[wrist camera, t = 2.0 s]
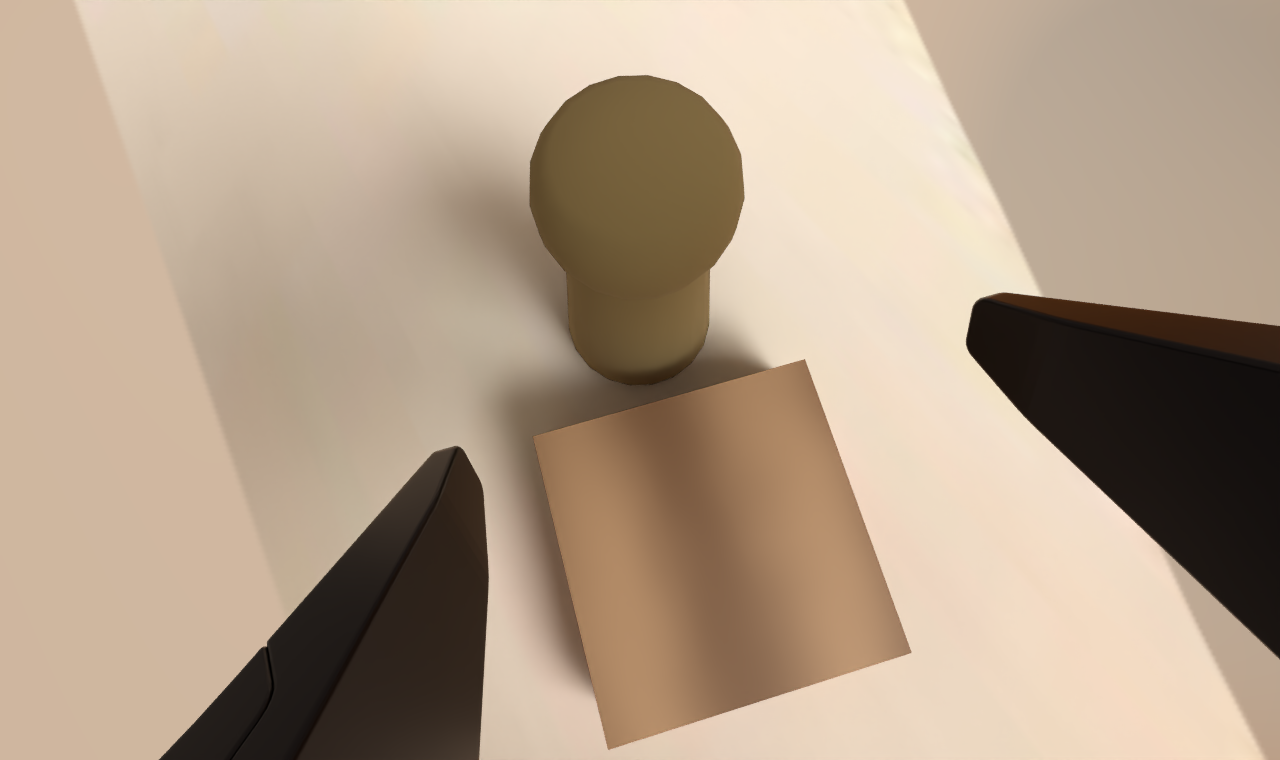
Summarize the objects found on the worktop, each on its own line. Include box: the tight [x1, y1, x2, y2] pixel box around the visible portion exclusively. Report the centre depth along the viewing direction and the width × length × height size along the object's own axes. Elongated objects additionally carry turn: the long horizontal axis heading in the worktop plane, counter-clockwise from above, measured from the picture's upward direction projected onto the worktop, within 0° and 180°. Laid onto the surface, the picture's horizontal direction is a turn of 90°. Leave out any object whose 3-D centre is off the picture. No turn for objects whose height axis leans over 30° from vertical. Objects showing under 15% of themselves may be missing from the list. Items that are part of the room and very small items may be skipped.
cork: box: [530, 75, 744, 385], centre depth 16 cm, size 6×6×11 cm
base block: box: [533, 359, 911, 750], centre depth 18 cm, size 10×10×3 cm
